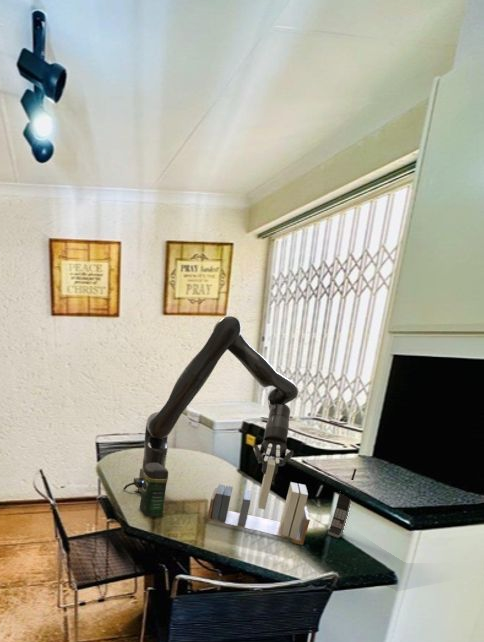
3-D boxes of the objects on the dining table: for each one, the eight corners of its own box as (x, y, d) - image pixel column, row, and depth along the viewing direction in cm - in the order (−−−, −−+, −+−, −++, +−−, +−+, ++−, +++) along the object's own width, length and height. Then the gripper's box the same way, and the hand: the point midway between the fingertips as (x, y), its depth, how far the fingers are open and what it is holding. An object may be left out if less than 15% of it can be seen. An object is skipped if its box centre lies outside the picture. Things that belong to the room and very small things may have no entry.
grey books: (211, 518, 140) (215, 493, 136) (214, 508, 149) (218, 484, 145) (245, 526, 136) (250, 500, 133) (246, 515, 145) (251, 490, 142)
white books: (281, 534, 132) (292, 491, 127) (280, 523, 141) (290, 482, 136) (296, 538, 131) (308, 494, 126) (294, 526, 140) (305, 484, 135)
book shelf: (206, 522, 140) (211, 498, 137) (210, 510, 150) (215, 487, 147) (302, 545, 130) (310, 519, 127) (300, 530, 141) (306, 506, 137)
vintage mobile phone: (327, 534, 139) (346, 468, 131) (331, 530, 142) (351, 466, 134) (338, 538, 137) (359, 472, 128) (342, 534, 140) (363, 469, 132)
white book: (258, 508, 133) (268, 463, 127) (258, 497, 142) (268, 456, 136) (265, 509, 132) (275, 465, 127) (265, 499, 141) (274, 457, 136)
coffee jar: (165, 518, 140) (172, 469, 134) (144, 518, 139) (150, 469, 132) (156, 506, 149) (162, 460, 143) (137, 507, 147) (142, 460, 141)
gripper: (257, 422, 137) (248, 464, 130) (299, 428, 132) (293, 472, 126) (254, 433, 143) (246, 474, 136) (295, 440, 139) (288, 482, 132)
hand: (269, 473), depth 131 cm, fingers closed on white book, 2 cm apart
